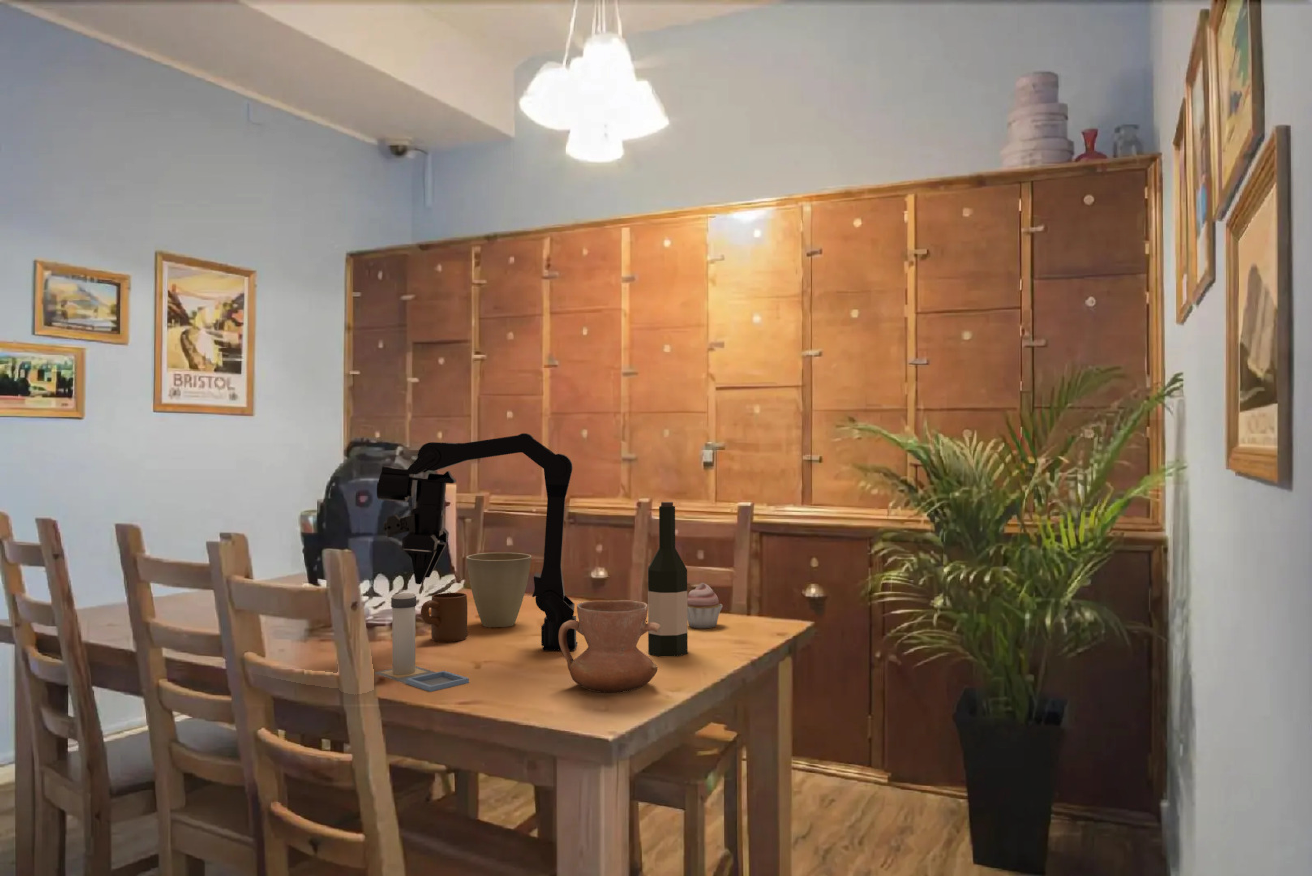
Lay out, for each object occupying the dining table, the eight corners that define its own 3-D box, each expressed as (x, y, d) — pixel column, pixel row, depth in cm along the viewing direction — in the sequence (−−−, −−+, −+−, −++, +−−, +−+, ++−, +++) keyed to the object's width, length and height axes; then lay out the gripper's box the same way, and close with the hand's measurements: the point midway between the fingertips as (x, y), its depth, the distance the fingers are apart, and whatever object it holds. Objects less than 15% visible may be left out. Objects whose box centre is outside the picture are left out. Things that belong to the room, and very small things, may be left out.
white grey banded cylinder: (419, 669, 166) (419, 593, 166) (412, 675, 162) (412, 597, 162) (395, 669, 166) (395, 593, 166) (388, 675, 162) (388, 597, 162)
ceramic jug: (670, 679, 159) (669, 599, 160) (650, 702, 145) (649, 613, 146) (573, 673, 164) (573, 595, 164) (545, 695, 150) (544, 609, 150)
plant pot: (481, 634, 199) (481, 561, 199) (456, 623, 211) (456, 555, 211) (542, 626, 207) (542, 556, 207) (515, 616, 219) (515, 550, 219)
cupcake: (678, 629, 203) (678, 584, 203) (686, 621, 212) (686, 579, 212) (719, 631, 201) (719, 586, 201) (726, 623, 210) (725, 580, 210)
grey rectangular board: (372, 674, 164) (372, 668, 164) (411, 666, 170) (411, 660, 170) (430, 693, 151) (430, 687, 151) (470, 684, 157) (470, 678, 157)
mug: (435, 648, 185) (435, 602, 185) (408, 644, 189) (408, 599, 189) (474, 637, 195) (474, 593, 195) (448, 634, 199) (448, 591, 199)
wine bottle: (640, 655, 178) (640, 503, 178) (655, 646, 186) (654, 500, 186) (680, 658, 175) (680, 503, 175) (694, 649, 183) (693, 501, 183)
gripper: (399, 497, 192) (392, 571, 191) (378, 503, 173) (371, 584, 173) (451, 502, 192) (445, 575, 192) (437, 508, 174) (430, 589, 174)
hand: (422, 580), depth 183 cm, fingers open, 9 cm apart
